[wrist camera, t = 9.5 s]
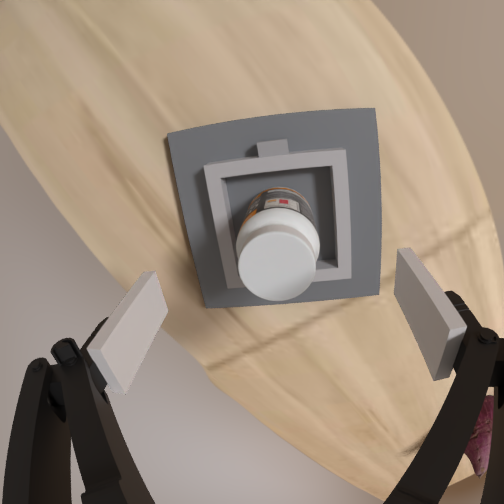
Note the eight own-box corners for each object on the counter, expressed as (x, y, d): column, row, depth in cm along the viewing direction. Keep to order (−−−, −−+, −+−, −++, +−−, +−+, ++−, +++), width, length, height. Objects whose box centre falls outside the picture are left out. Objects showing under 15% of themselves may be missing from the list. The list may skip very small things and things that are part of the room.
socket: (170, 132, 26) (159, 135, 23) (371, 108, 23) (381, 107, 21) (208, 303, 33) (202, 318, 31) (376, 289, 30) (383, 304, 28)
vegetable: (451, 420, 44) (452, 488, 33) (444, 405, 40) (446, 484, 29) (498, 404, 39) (504, 473, 27) (498, 386, 35) (507, 467, 23)
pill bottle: (246, 185, 26) (224, 221, 17) (313, 185, 26) (327, 222, 17) (248, 246, 29) (231, 307, 20) (311, 247, 28) (321, 309, 19)
